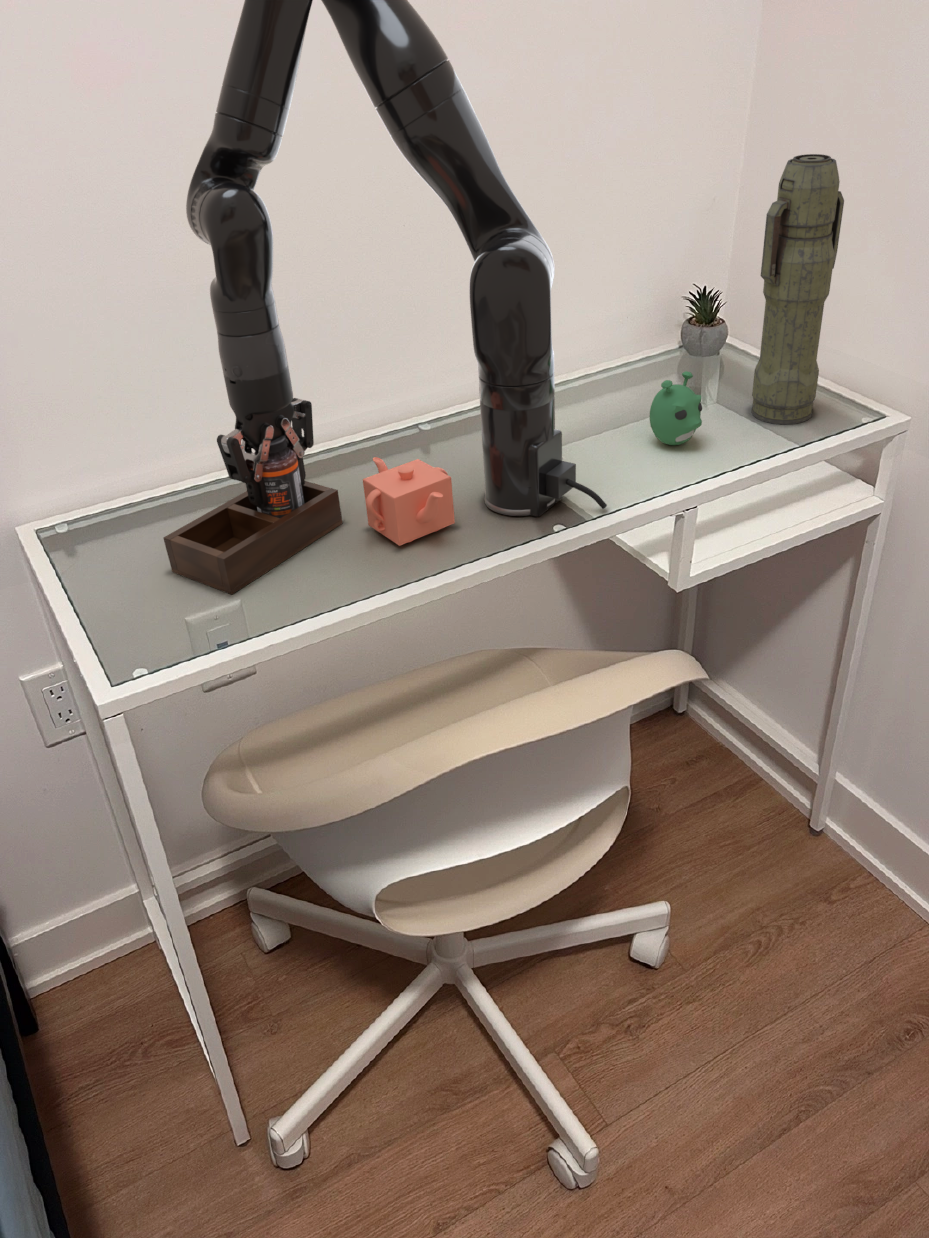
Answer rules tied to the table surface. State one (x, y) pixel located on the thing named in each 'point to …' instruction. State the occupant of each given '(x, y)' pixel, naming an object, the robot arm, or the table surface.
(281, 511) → the supplement bottle
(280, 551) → the organizer
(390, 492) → the teapot
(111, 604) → the table surface
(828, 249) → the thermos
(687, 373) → the alien toy
